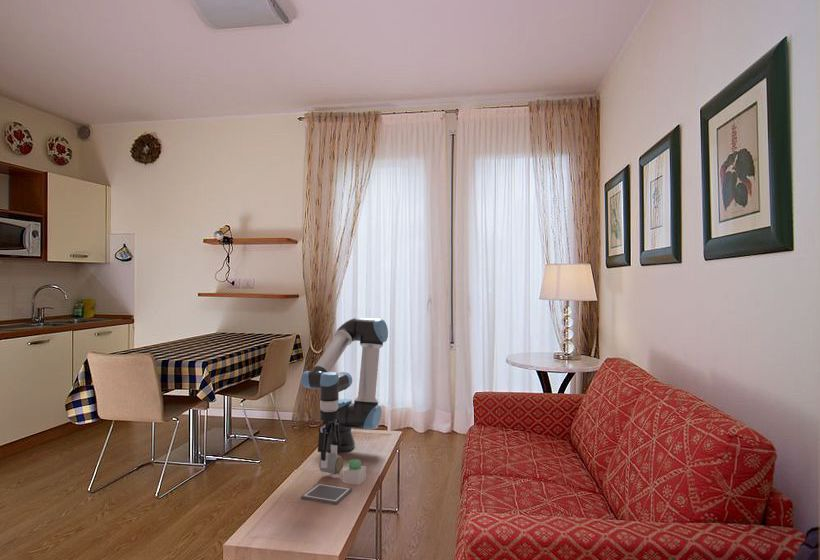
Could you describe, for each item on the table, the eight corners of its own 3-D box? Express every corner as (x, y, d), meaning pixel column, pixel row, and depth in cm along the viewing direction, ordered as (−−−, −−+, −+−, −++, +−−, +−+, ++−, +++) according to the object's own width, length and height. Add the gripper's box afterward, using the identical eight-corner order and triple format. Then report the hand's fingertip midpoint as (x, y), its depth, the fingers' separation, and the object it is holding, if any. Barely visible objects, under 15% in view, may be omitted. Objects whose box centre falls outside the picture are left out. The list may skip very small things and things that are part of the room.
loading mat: (318, 485, 194) (318, 483, 194) (352, 490, 189) (352, 488, 189) (300, 498, 182) (301, 496, 182) (336, 504, 177) (336, 502, 177)
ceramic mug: (336, 476, 198) (336, 458, 198) (318, 474, 201) (318, 455, 201) (347, 467, 208) (348, 449, 208) (331, 465, 211) (331, 447, 211)
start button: (351, 463, 203) (351, 458, 203) (362, 464, 201) (362, 460, 201) (346, 467, 198) (346, 462, 198) (357, 469, 196) (357, 464, 196)
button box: (350, 476, 204) (350, 464, 204) (365, 478, 202) (366, 466, 202) (343, 482, 197) (343, 470, 197) (358, 484, 195) (358, 472, 195)
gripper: (332, 403, 215) (332, 454, 215) (308, 415, 195) (308, 471, 195) (348, 404, 212) (348, 456, 212) (325, 417, 193) (325, 474, 193)
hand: (329, 463), depth 204 cm, fingers closed on ceramic mug, 8 cm apart
